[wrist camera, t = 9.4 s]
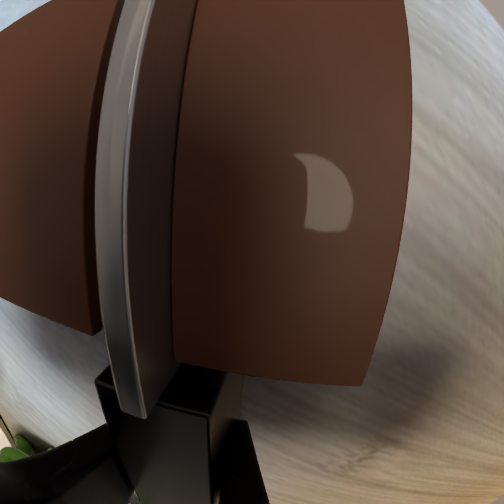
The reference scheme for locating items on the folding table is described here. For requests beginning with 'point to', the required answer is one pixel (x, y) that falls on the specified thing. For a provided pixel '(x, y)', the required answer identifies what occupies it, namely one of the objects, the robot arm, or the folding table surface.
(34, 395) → the folding table surface
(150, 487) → the knife
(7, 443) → the plate
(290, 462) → the folding table surface
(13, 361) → the folding table surface
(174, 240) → the brown block
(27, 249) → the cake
